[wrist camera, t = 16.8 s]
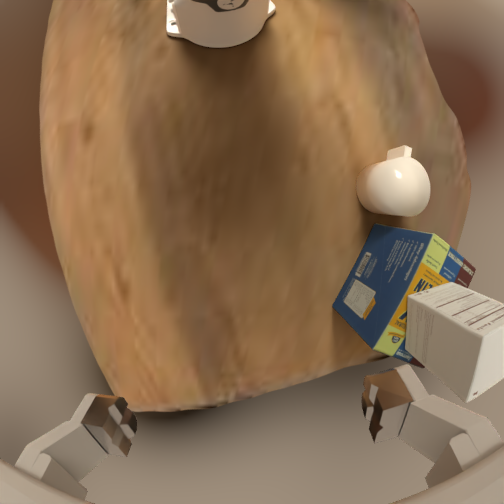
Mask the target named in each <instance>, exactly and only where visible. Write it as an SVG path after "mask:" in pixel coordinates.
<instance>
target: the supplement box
mask: <svg viewBox="0 0 504 504" xmlns="http://www.w3.org/2000/svg"><path fill="white" fill-rule="evenodd" d="M405 350H407V351H408V352H409V353H410V354H411V355H412V356H414V357H415V358H416V359H417V360H418V361H419V362H420V363H421V364H423V365H424V366H425V367H426V368H427V369H428V370H429V371H430V372H431V373H433V374H434V375H435V376H436V377H437V378H438V379H439V380H440V381H442V382H443V383H444V384H445V385H446V386H447V387H448V388H449V389H450V390H452V391H453V392H454V393H455V394H456V395H457V396H458V397H459V398H460V399H461V400H462V401H463V402H464V403H467V402H469V401H471V400H473V399H474V398H476V397H477V396H479V395H481V394H482V393H483V392H485V391H486V390H488V389H489V388H491V387H492V386H493V385H495V384H496V383H497V382H499V381H500V380H502V379H503V378H504V304H503V303H501V302H498V301H495V300H494V299H491V298H489V297H486V296H484V295H482V294H479V293H477V292H475V291H472V290H470V289H468V288H465V287H463V286H460V285H458V284H456V283H453V282H450V283H446V284H443V285H440V286H437V287H434V288H430V289H427V290H424V291H421V292H417V293H414V294H411V295H408V303H407V328H406V342H405Z"/></svg>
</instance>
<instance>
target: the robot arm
mask: <svg viewBox="0 0 504 504" xmlns="http://www.w3.org/2000/svg"><path fill="white" fill-rule="evenodd" d="M274 12H275V5H274V4H273V3H272V2H271V1H270V0H167V26H166V29H167V34H168V35H170V36H173V37H183V38H186V39H188V40H190V41H191V42H193V43H195V44H198V45H201V46H206V47H213V48H222V47H231V46H235V45H239V44H241V43H244V42H246V41H248V40H250V39H252V38H253V37H254V36H256V35H257V34H258V33H259V32H260V30H261V29H262V27H263V25H264V22H265V20H266V19H267V18H268V17H269V16H271V15H272V14H273V13H274ZM174 24H175V25H174ZM172 25H174V26H172ZM363 385H364V387H365V391H364V392H363V393H362V409H363V413H364V416H365V418H366V419H367V420H368V421H370V426H369V430H370V433H371V436H372V439H373V441H374V443H378V442H382V441H385V440H388V439H392V438H395V437H399V439H401V440H402V441H404V442H405V443H406V444H408V445H409V446H411V447H412V448H414V449H415V450H416V451H418V452H419V453H421V454H422V455H424V456H425V457H426V458H428V459H429V460H431V461H432V462H434V463H435V464H434V466H433V467H432V469H431V470H430V471H429V473H428V474H427V476H426V477H425V479H426V482H427V485H428V487H429V488H428V489H426V490H424V491H422V492H419V493H417V494H414V495H412V496H409V497H407V498H404V499H401V500H399V501H396V502H393V503H390V504H504V442H503V440H502V439H501V437H500V436H499V434H498V433H497V431H496V430H495V428H494V426H493V425H492V423H491V422H490V420H489V419H488V418H487V417H485V416H482V415H480V414H477V413H475V412H472V411H470V410H468V409H465V408H463V407H461V406H458V405H456V404H454V403H451V402H449V401H447V400H445V399H442V398H440V397H437V396H436V395H430V396H429V394H428V393H427V391H426V390H425V388H424V387H423V385H422V383H421V382H420V380H419V379H418V377H417V375H416V374H415V372H414V371H413V369H412V368H411V367H410V365H408V364H406V365H403V366H399V367H396V368H394V369H389V370H386V371H382V372H379V373H375V374H372V375H367V376H365V378H364V383H363ZM127 405H128V403H127V402H126V400H125V399H124V398H123V397H117V396H109V395H101V394H92V393H88V394H87V395H85V397H84V399H83V400H82V402H81V403H80V405H79V407H78V408H77V410H76V412H75V413H74V415H73V417H72V419H71V420H70V421H66V422H64V423H63V424H61V425H59V426H58V427H56V428H54V429H53V430H51V431H49V432H48V433H46V434H45V435H43V436H41V437H40V438H38V439H36V440H34V441H33V442H31V443H29V444H27V446H26V447H25V449H24V450H23V452H22V454H21V455H20V457H19V459H18V461H17V462H16V464H15V466H12V465H10V464H8V463H7V462H5V461H4V460H2V459H1V458H0V504H94V503H91V502H88V501H86V500H85V497H86V495H87V492H88V491H87V489H86V488H85V487H84V486H82V485H81V484H80V483H79V481H80V480H81V479H83V478H84V477H85V476H86V475H87V474H88V473H89V472H90V471H91V470H93V469H94V468H95V467H96V466H97V465H98V464H99V463H100V462H102V461H103V460H104V459H105V458H106V457H107V456H108V454H110V455H116V456H122V457H127V455H128V453H129V450H130V447H131V445H132V443H131V441H130V439H131V438H132V437H133V436H134V435H135V434H136V431H137V419H136V416H135V414H134V413H133V412H132V411H131V410H130V409H128V408H127Z"/></svg>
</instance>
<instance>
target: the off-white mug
mask: <svg viewBox="0 0 504 504" xmlns="http://www.w3.org/2000/svg"><path fill="white" fill-rule="evenodd" d="M411 151H412V148H410V147H408V146H406V145H404V146H401V147H398V148H394V149H391V150H388V154H387V161H383V162H379V163H375V164H371V165H368V166H366V167H365V168H364V169H363V170H362V171H361V172H360V173H359V175H358V178H357V181H356V192H357V196H358V199H359V201H360V203H361V204H362V205H363V207H364V208H365V209H367V210H368V211H370V212H372V213H377V214H388V215H398V216H408V217H411V216H416V215H418V214H419V213H421V212H422V211H423V210H424V209H425V207H426V206H427V203H428V201H429V197H430V182H429V178H428V175H427V173H426V171H425V169H424V168H423V166H422V165H421V164H420V163H419V162H418V161H416V160H415V159H413V158H411Z"/></svg>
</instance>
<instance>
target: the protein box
mask: <svg viewBox="0 0 504 504" xmlns="http://www.w3.org/2000/svg"><path fill="white" fill-rule="evenodd" d="M475 270H476V269H475V268H474V267H473V266H472V265H471V264H470V263H469V262H468V261H467V260H466V259H465V258H463V257H462V256H461V255H460V254H459V253H458V252H456V251H455V250H454V249H453V248H452V247H451V246H449V245H448V244H447V243H446V242H445V241H443V240H442V239H441V238H440V237H438V236H437V235H436V234H434V233H433V234H432V233H426V232H421V231H415V230H409V229H404V228H398V227H393V226H387V225H382V224H376V223H375V224H374V226H373V228H372V230H371V232H370V234H369V237H368V239H367V241H366V243H365V245H364V247H363V249H362V251H361V253H360V255H359V257H358V259H357V261H356V263H355V265H354V267H353V268H352V270H351V272H350V274H349V276H348V278H347V280H346V282H345V283H344V285H343V287H342V289H341V291H340V293H339V294H338V296H337V298H336V300H335V302H334V303H333V305H332V307H333V308H334V309H335V310H336V311H337V312H338V313H339V314H340V315H341V316H342V317H343V318H344V319H345V320H346V322H347V323H348V324H349V325H350V326H351V327H352V328H353V329H354V330H355V331H356V332H357V333H358V334H359V336H360V337H361V338H362V339H363V340H364V341H365V342H366V343H367V344H368V345H369V346H370V347H371V348H372V350H374V351H377V352H380V353H383V354H386V355H389V356H391V357H394V358H397V359H400V360H403V361H405V362H407V363H410V364H412V365H414V366H417V367H420V368H424V367H425V366H424V365H423V364H421V363H420V362H419V361H418V360H417V359H416V358H415V357H414V356H412V355H411V354H410V353H409V352H408V351H407V350H405V342H406V328H407V303H408V295H411V294H414V293H417V292H421V291H424V290H427V289H430V288H434V287H437V286H440V285H443V284H446V283H450V282H453V283H456V284H458V285H460V286H463V287H465V288H468V286H469V284H470V282H471V279H472V277H473V275H474V273H475Z"/></svg>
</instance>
